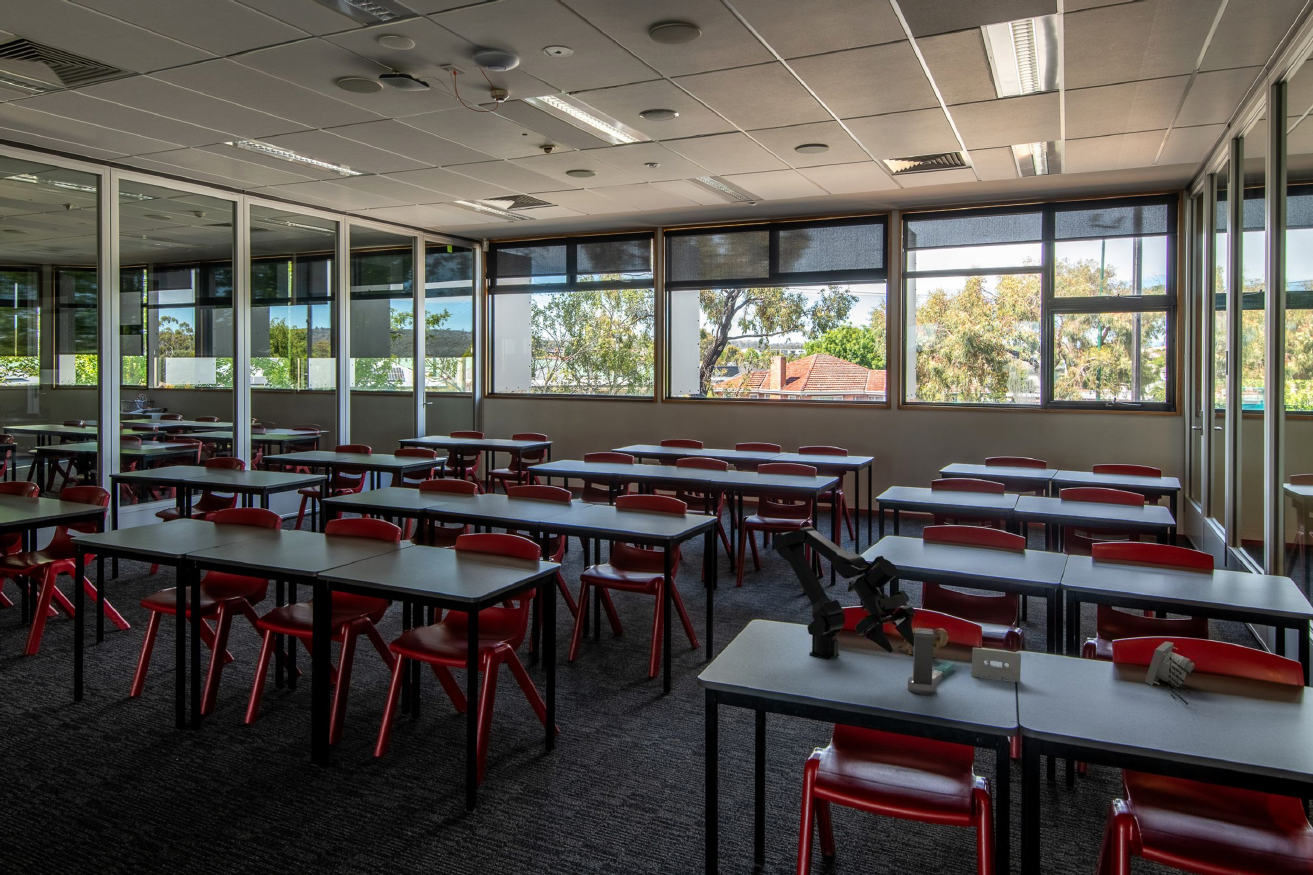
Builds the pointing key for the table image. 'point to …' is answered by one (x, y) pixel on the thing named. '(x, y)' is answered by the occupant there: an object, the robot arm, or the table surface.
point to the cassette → (996, 671)
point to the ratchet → (936, 677)
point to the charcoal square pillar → (923, 656)
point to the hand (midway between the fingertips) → (903, 648)
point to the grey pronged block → (1169, 668)
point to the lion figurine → (938, 640)
